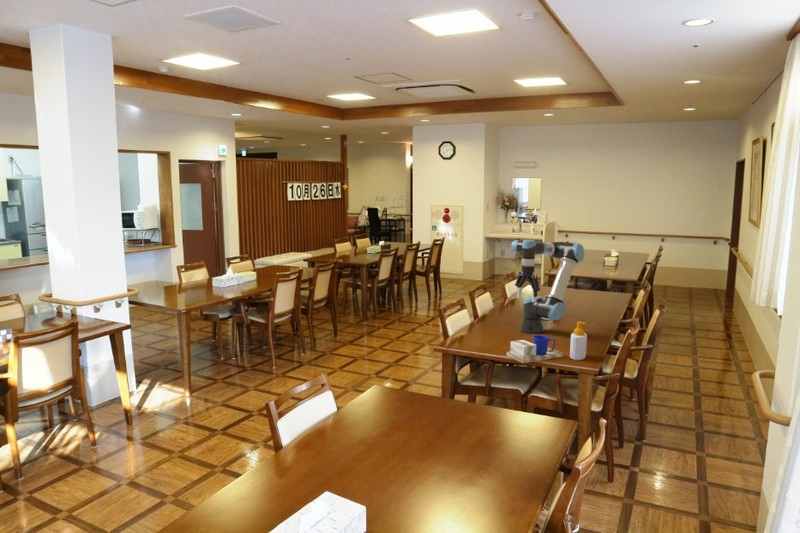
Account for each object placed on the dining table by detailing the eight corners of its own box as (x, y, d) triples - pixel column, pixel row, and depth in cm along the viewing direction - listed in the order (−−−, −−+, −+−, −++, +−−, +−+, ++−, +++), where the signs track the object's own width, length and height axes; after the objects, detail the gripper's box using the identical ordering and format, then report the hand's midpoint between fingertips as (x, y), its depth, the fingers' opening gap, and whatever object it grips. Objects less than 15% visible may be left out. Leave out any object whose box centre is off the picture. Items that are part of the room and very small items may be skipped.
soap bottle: (582, 361, 302) (584, 325, 299) (567, 358, 307) (569, 323, 304) (588, 355, 314) (590, 320, 311) (573, 352, 318) (575, 318, 315)
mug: (555, 357, 308) (556, 339, 306) (533, 356, 310) (534, 338, 308) (553, 352, 316) (554, 335, 315) (532, 351, 318) (532, 334, 316)
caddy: (544, 349, 324) (545, 334, 323) (562, 356, 311) (563, 341, 310) (506, 355, 312) (506, 340, 311) (523, 363, 299) (524, 347, 297)
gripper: (510, 263, 341) (509, 296, 344) (537, 268, 319) (535, 304, 322) (519, 262, 344) (518, 295, 347) (547, 267, 322) (545, 303, 325)
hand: (526, 300), depth 334 cm, fingers open, 13 cm apart
